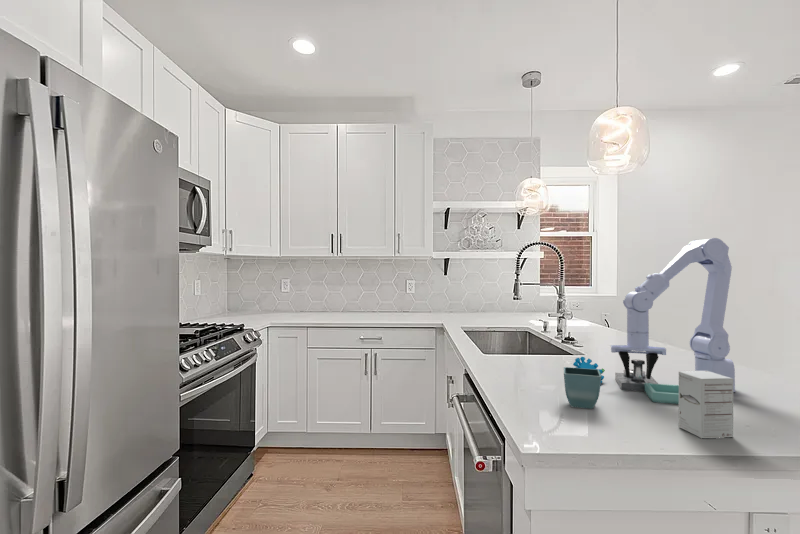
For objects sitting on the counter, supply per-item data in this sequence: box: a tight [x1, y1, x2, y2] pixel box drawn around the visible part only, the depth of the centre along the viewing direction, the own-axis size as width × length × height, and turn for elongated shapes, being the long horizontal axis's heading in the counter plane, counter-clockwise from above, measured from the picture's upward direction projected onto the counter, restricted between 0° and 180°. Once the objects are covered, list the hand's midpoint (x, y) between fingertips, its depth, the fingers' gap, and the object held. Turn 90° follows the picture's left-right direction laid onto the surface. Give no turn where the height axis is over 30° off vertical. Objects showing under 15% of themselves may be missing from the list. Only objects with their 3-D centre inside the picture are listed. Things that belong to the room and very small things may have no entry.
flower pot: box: [563, 366, 602, 410], centre depth 120 cm, size 9×9×9 cm
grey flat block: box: [614, 368, 659, 392], centre depth 142 cm, size 10×14×4 cm
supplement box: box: [678, 370, 734, 439], centre depth 100 cm, size 7×7×13 cm
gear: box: [572, 356, 605, 384], centre depth 146 cm, size 11×6×10 cm
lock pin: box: [630, 359, 646, 382], centre depth 139 cm, size 4×4×8 cm
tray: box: [644, 383, 679, 405], centre depth 127 cm, size 14×11×2 cm
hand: (638, 377), depth 139 cm, fingers open, 5 cm apart
